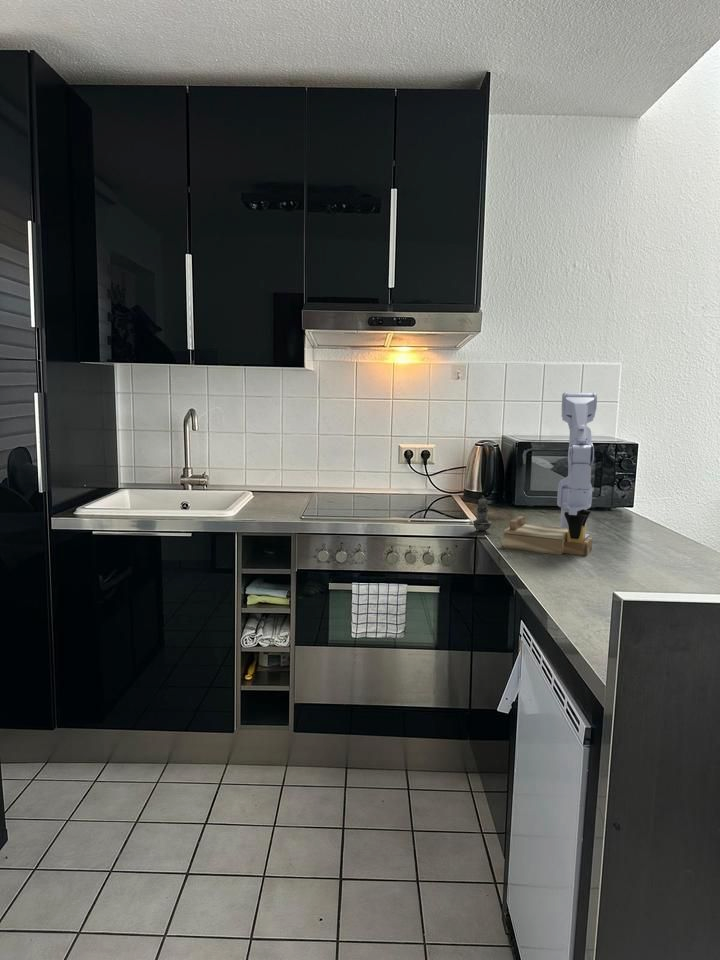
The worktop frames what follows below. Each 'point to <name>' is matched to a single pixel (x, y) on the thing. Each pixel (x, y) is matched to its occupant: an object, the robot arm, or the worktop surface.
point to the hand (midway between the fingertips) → (576, 537)
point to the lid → (535, 529)
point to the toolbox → (546, 544)
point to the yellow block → (581, 538)
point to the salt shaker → (482, 518)
